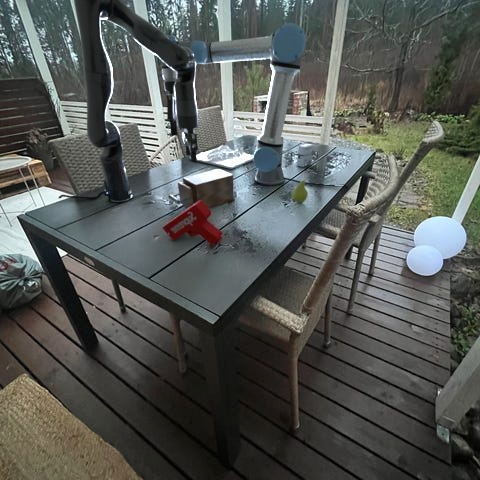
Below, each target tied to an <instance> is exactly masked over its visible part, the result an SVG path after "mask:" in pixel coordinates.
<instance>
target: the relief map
mask: <svg viewBox="0 0 480 480" xmlns="http://www.w3.org/2000/svg"><path fill="white" fill-rule="evenodd" d="M196 155H197V161H196V162H201V163H204V164H209V165H214V166H217V167H222V168H226V169H230V170H233V169H235V168H237V167H240V166H241V165H244V164H247V163H250V162H252V161H253V155H254V154H249V153H246V152H245V151H244V149H242V148H238V149H235V150H233V149H231V148H230V147H229V146H228V145H227V144H225V145H224V144H221V145H220V146H219V147H216V148H213V149H210V150H208V151H204V152H202V151H201V152H200V153H198V154H196ZM189 160H191V157H190V156H189Z"/></svg>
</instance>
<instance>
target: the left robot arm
mask: <svg viewBox="0 0 480 480" xmlns="http://www.w3.org/2000/svg"><path fill="white" fill-rule="evenodd" d="M73 3H74V9H75V14H76V20H77V23H78V24H77V25H78V31H79V39H80V47H81V55H82V69H83V77H84V85H85V86H84V87H85V98H86V134H87V138H88V140H89V142H90V143H91V145H92V146H94V147H95V148H97V149H102V152H101V153H100V154H99V156H98V160H99V164H100V168H101V170H102V171H101V172H102V173H103V178H104V180H103V185H104V188H105V189H104V190H103V191H101V192H99V193H98V194H97V195H96V196H85V195H83V196H82V195H81V196H78V195H67V194H60V195H59V196H58V199H62V198H68V199H87V200H97V199H99V198H100V197H101V196H102V195H104V197H107V198H108V201H109V202H112V203H117V204H119V203H124V202H125V203H126V202H128V201H130V200H131V199H133V194H132V189H131V186H130V183H129V182H130V181H129V179H128V174H127V170H126V166H125V162H124V149H123V143H122V138H121V134H120V130H119V128H118V126H117V125H116V124H115V123H114V122H113V121H111V120H106V115H107V114H106V112H107V108H108V105H109V102H110V99H111V97H112V95H113V89H114V78H113V75H114V74H113V66H112V62H111V60H110V57H109V55H108V53H107V51H106V48H105V45H104V42H103V39H102V32H101V31H102V29H101V20H105V21H107V22H110V23H112V24H114V25H116V26H119V28H120V27H121V28H122V29H123V30H124V31H126V32H127V33H128V34H129V36H131V38H132V39H133V40H135V42H137V43H138V44H139V45H140V46H142V47H143V48H144V49H146V50H147V51H148V52H150V53H152V54H153V55H154V56H157V57H158V58H159V60H160V61H161V60H162V61H163V62H164V63H165V64H166V65H168V66H169V67H170V68H169V69H173V70H175V71H177V80H176V82H175V84H174V90H175V99H176V114H175V115H176V123H177V128H179V129H180V128H182V130H181V134H182V143H183V146H184V151H185V155H186V156H187V157H188V156H189V158H190V157H191V159H190V161H191V162H198V161H197V155H198V154H197V151H199V147H198V138H197V136H198V135H197V132H195V131H194V129H197V128H198V127H199V117H198V105H197V100H196V88H195V87H196V86H195V81H196V72H197V71H196V69H197V68H196V67H197V64H196V62H195V57H194V54H193V52H192V51H191V49H189V48H188V47H184V46H179V45H177V44H176V43H174V42H173V41H171V40H170V39H169V38H168V36H167V35H168V34H166V33H165V32H164V31H162V30H161V29H160V28H158V27H157V26H156V25H154V24H152V23H151V22H150V21H148V20H146V19H144V17H142V16H140V14H139V15H138V13H136V12H134V11H133V10H132V9H131V8H130V7H128V6H127V5H126V4H125V3H124V2H122V0H73Z"/></svg>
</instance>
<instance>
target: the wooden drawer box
mask: <svg viewBox="0 0 480 480" xmlns="http://www.w3.org/2000/svg"><path fill="white" fill-rule="evenodd" d="M185 182H187V183H189V184H191V185H193V186H195V193H196V203H197V202H198V201H199V200H202V201H203V202H204V203H205V205H206V206H207V207H208V208H209V209H210V208H212V207H216V206H218V205H223V204H225V203H228V202H231V201H234V174H232V173H230V172H228V171H226V170H223V169H221V168H216V169H212V170H207V171H204V172H201V173H196V174H192V175H187V176H184V177H182V183H184V184H185Z"/></svg>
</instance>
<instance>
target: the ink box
mask: <svg viewBox="0 0 480 480" xmlns="http://www.w3.org/2000/svg"><path fill="white" fill-rule="evenodd" d="M313 148H314V144H312V143H311V144H310V143H304V144H300V145H298V149H297V157H296V158H297V159H296V166H298V167H300V168H304V167H306V166H309V165H311V164H312V156H313ZM310 162H311V163H310ZM308 163H309V164H308ZM298 164H299V165H298ZM305 164H307V165H305ZM301 165H304V166H301Z"/></svg>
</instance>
